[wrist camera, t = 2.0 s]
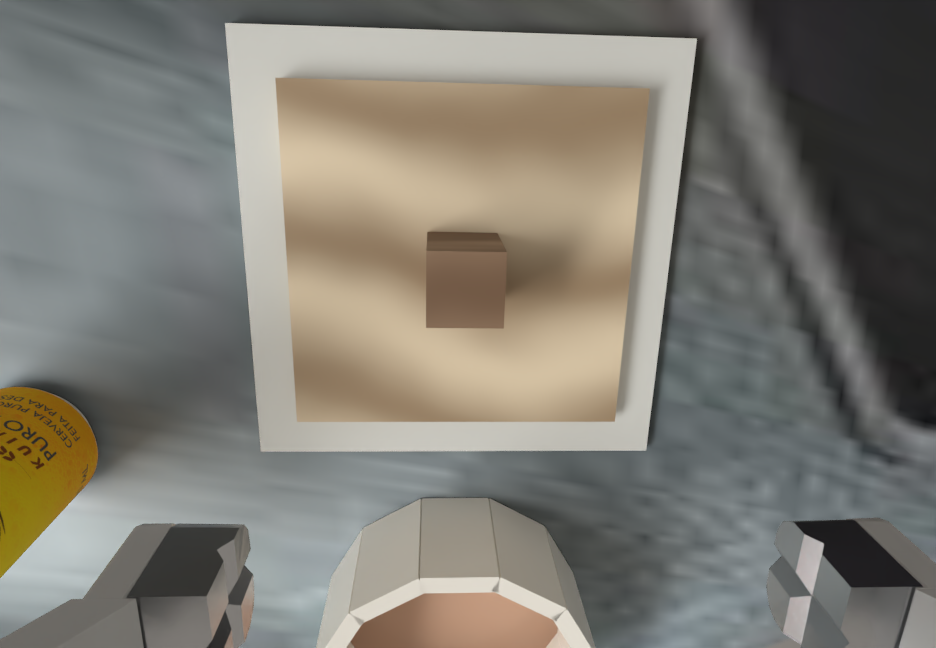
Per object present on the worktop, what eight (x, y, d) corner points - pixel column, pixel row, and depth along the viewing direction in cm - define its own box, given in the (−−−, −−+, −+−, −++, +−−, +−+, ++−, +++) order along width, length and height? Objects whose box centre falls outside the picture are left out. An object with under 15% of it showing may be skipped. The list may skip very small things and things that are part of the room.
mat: (228, 24, 26) (225, 23, 26) (692, 39, 27) (697, 38, 27) (263, 446, 32) (260, 451, 32) (643, 445, 33) (646, 450, 33)
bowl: (327, 499, 33) (305, 579, 27) (580, 497, 34) (609, 575, 28) (337, 696, 37) (319, 802, 32) (562, 690, 38) (585, 793, 32)
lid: (279, 78, 26) (247, 72, 22) (643, 89, 27) (686, 84, 23) (300, 414, 31) (277, 466, 27) (610, 414, 32) (639, 465, 27)
